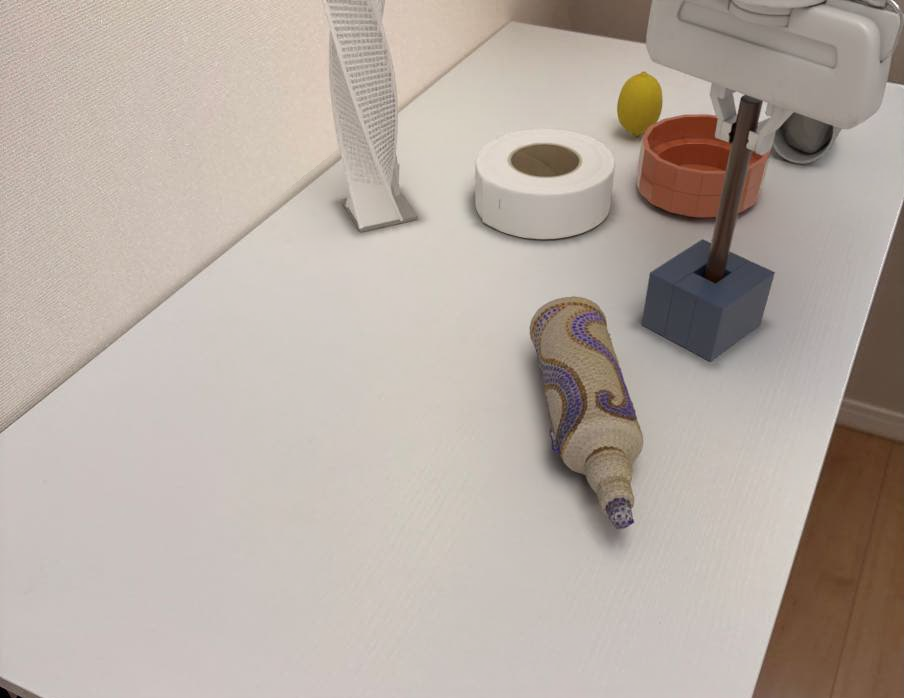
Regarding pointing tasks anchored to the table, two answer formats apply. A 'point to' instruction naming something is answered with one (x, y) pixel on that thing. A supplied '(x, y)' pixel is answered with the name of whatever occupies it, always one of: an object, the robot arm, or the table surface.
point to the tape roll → (544, 183)
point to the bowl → (691, 167)
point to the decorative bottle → (588, 401)
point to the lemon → (639, 103)
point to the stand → (706, 301)
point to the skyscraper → (365, 113)
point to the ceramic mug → (803, 138)
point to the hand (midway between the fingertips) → (742, 144)
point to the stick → (732, 188)
